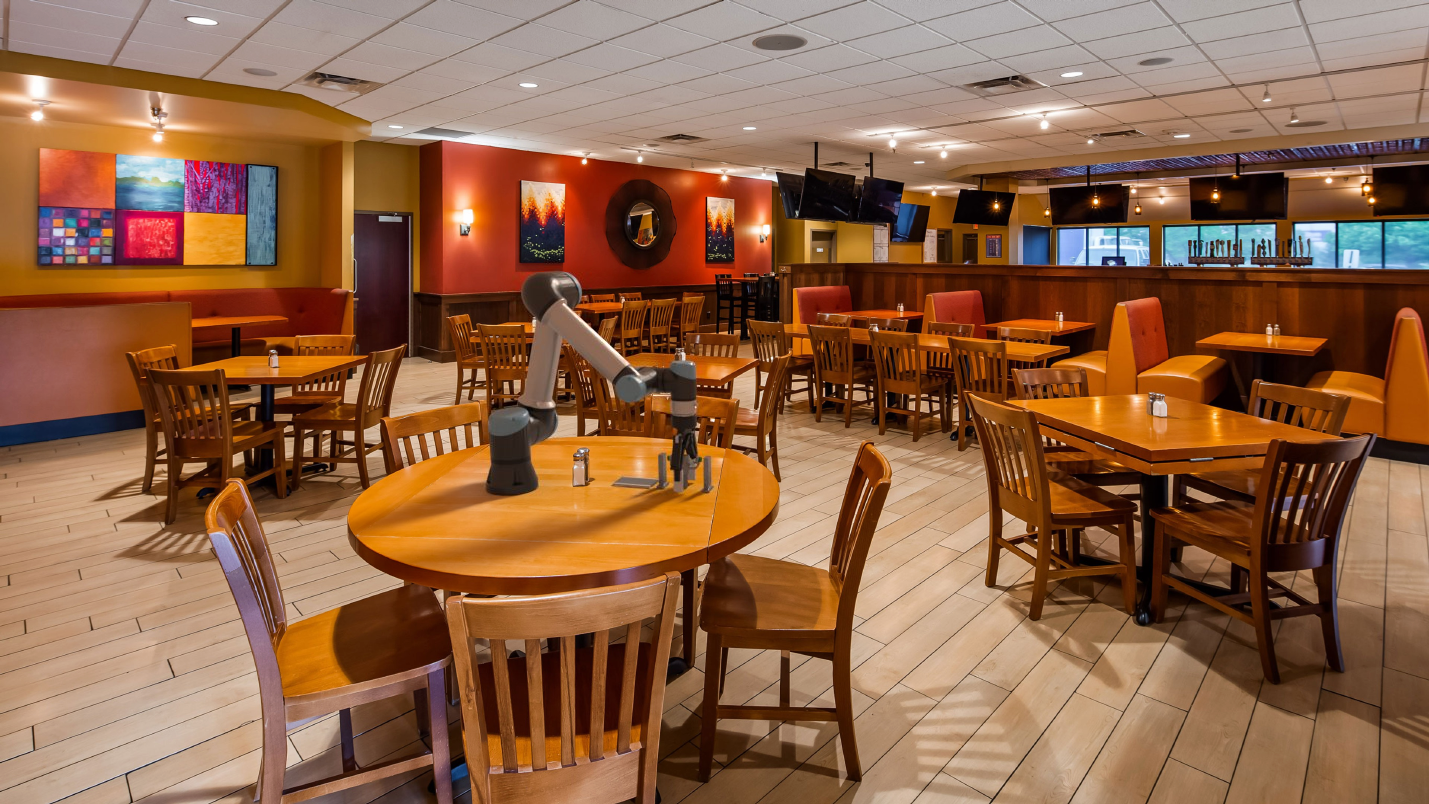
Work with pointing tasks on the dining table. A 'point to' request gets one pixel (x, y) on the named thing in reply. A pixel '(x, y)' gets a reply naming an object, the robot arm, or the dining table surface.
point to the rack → (663, 473)
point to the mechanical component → (687, 466)
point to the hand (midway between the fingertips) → (685, 485)
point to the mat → (636, 482)
